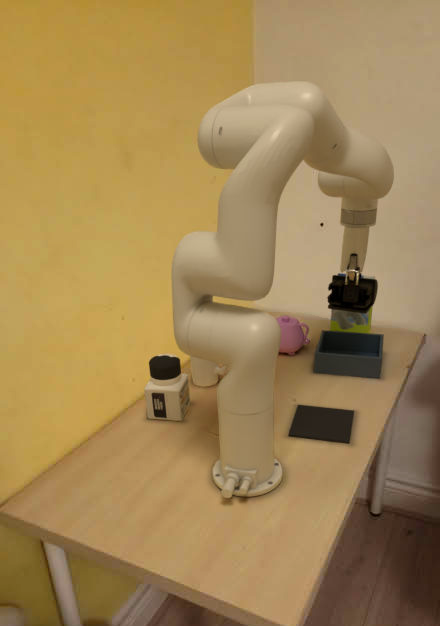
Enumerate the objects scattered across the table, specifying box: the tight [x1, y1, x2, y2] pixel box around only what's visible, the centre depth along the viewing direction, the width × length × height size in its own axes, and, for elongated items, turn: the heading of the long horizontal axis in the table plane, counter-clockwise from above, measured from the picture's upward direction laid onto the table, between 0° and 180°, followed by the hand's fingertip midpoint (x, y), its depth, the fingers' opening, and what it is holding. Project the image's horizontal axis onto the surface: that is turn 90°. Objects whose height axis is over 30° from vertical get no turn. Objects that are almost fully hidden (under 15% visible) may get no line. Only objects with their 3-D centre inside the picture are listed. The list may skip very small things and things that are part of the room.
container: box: [143, 353, 191, 422], centre depth 115 cm, size 8×8×13 cm
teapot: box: [275, 314, 311, 356], centre depth 142 cm, size 10×15×9 cm
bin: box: [313, 329, 385, 380], centre depth 134 cm, size 15×16×5 cm
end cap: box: [326, 274, 379, 314], centre depth 124 cm, size 10×7×7 cm
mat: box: [287, 404, 355, 445], centre depth 111 cm, size 12×12×1 cm
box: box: [329, 272, 376, 333], centre depth 145 cm, size 10×4×17 cm, turn 64°
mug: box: [189, 356, 228, 388], centre depth 127 cm, size 10×7×12 cm, turn 61°
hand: (351, 295), depth 124 cm, fingers closed on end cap, 8 cm apart
